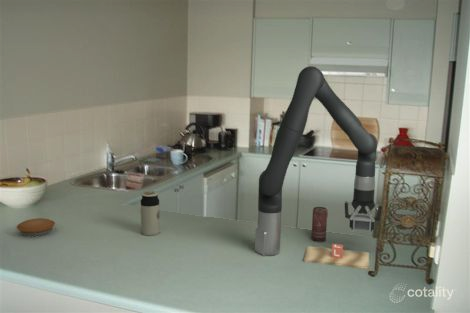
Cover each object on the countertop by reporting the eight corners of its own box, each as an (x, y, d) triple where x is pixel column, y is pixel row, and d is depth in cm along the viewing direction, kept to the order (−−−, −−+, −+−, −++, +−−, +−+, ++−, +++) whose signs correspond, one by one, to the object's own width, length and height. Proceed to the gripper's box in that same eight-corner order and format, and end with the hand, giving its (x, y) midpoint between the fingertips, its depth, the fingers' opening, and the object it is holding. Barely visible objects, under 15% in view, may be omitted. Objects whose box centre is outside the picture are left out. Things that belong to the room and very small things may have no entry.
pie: (55, 236, 206) (55, 225, 205) (16, 240, 200) (15, 229, 200) (55, 225, 220) (54, 214, 219) (17, 229, 215) (17, 218, 214)
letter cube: (331, 257, 185) (332, 247, 185) (332, 253, 189) (332, 243, 189) (342, 258, 184) (342, 248, 184) (342, 254, 188) (343, 244, 188)
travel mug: (137, 234, 210) (136, 194, 207) (147, 228, 217) (146, 190, 214) (153, 236, 207) (152, 196, 204) (163, 231, 214) (162, 192, 211)
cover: (352, 233, 181) (353, 219, 180) (352, 228, 187) (353, 214, 186) (370, 234, 180) (371, 220, 179) (369, 229, 185) (370, 215, 184)
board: (303, 261, 184) (304, 259, 183) (307, 248, 197) (307, 246, 197) (369, 269, 178) (369, 266, 178) (368, 255, 191) (368, 252, 191)
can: (326, 242, 204) (327, 210, 201) (311, 241, 205) (312, 209, 202) (326, 237, 210) (328, 206, 207) (311, 236, 211) (313, 205, 208)
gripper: (344, 188, 178) (341, 231, 181) (384, 191, 175) (381, 234, 178) (344, 183, 185) (342, 225, 188) (383, 186, 182) (380, 228, 185)
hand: (361, 229), depth 183 cm, fingers closed on cover, 6 cm apart
